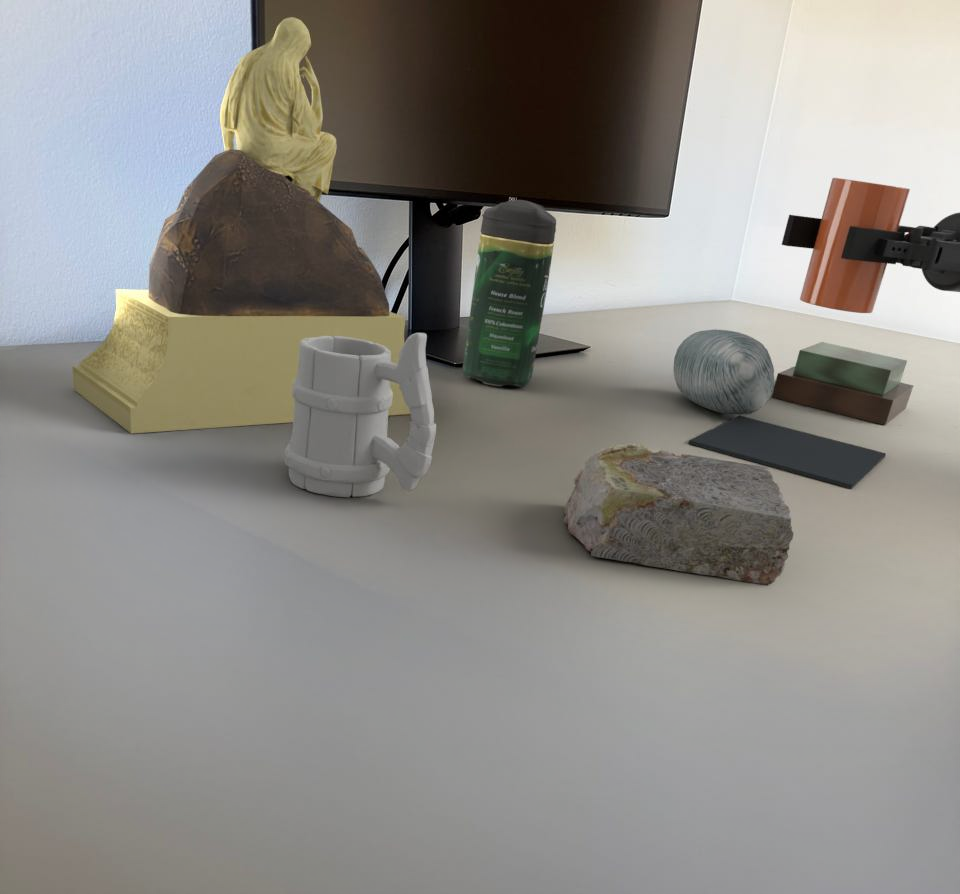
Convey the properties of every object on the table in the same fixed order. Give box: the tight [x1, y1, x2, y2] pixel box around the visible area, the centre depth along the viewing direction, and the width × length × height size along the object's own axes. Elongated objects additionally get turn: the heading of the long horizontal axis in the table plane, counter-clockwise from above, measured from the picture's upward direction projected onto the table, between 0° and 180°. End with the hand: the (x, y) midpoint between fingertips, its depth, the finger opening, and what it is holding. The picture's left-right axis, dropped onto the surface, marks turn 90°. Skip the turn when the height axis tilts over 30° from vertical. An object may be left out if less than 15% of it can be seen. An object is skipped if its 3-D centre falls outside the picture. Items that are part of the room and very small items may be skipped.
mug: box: [284, 332, 437, 498], centre depth 69 cm, size 8×12×12 cm, turn 59°
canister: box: [799, 177, 911, 314], centre depth 93 cm, size 7×7×11 cm
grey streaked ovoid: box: [673, 328, 775, 416], centre depth 109 cm, size 14×10×10 cm
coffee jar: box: [462, 199, 557, 388], centre depth 105 cm, size 10×8×19 cm
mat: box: [688, 415, 887, 490], centre depth 98 cm, size 16×16×1 cm
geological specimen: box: [563, 442, 795, 585], centre depth 69 cm, size 11×6×15 cm
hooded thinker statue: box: [72, 16, 411, 435], centre depth 81 cm, size 28×13×30 cm, turn 129°
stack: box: [771, 341, 914, 426], centre depth 122 cm, size 14×14×6 cm
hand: (817, 236), depth 90 cm, fingers closed on canister, 7 cm apart
